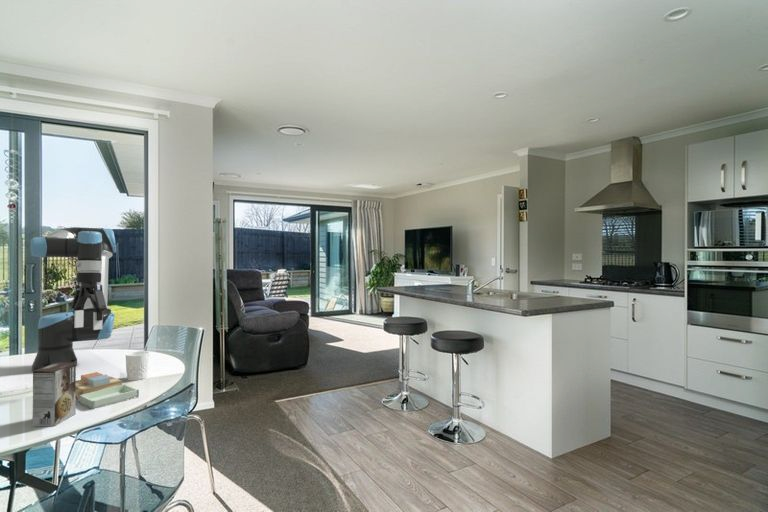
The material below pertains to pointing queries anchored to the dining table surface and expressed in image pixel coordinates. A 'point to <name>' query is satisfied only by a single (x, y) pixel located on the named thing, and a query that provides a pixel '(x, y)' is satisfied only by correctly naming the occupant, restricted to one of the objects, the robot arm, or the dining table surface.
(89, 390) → the tan square panel
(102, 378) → the tile
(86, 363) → the dining table surface
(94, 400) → the tray
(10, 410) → the dining table surface
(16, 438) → the dining table surface
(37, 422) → the cookie box
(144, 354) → the white cup
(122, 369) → the dining table surface
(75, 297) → the robot arm
